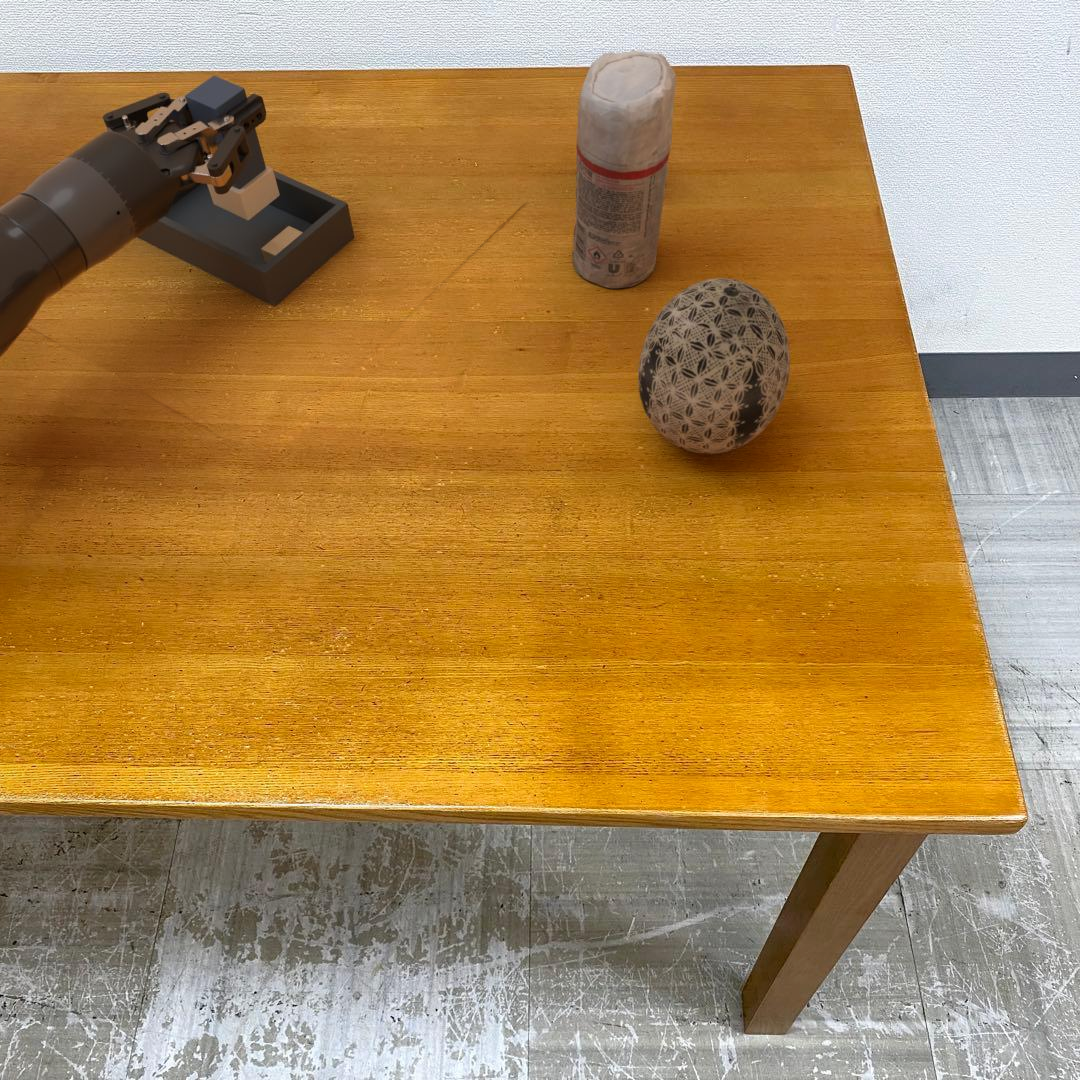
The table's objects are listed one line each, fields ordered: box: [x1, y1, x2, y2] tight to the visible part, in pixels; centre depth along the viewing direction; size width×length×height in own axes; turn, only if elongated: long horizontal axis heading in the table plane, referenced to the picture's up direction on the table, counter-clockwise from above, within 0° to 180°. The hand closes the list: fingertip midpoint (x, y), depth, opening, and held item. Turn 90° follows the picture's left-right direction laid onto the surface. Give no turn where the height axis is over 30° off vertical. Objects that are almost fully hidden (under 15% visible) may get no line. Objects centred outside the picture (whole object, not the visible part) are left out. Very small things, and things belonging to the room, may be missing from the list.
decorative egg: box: [637, 277, 791, 455], centre depth 80 cm, size 12×12×15 cm
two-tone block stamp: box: [184, 75, 280, 220], centre depth 91 cm, size 4×4×11 cm
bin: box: [136, 138, 355, 307], centre depth 99 cm, size 20×12×5 cm, turn 56°
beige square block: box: [261, 226, 303, 262], centre depth 97 cm, size 4×4×2 cm
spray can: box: [571, 49, 677, 289], centre depth 89 cm, size 8×8×20 cm
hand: (242, 96), depth 89 cm, fingers closed on two-tone block stamp, 3 cm apart
